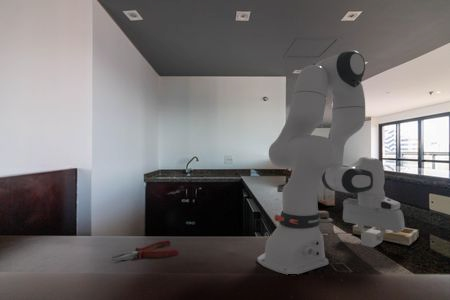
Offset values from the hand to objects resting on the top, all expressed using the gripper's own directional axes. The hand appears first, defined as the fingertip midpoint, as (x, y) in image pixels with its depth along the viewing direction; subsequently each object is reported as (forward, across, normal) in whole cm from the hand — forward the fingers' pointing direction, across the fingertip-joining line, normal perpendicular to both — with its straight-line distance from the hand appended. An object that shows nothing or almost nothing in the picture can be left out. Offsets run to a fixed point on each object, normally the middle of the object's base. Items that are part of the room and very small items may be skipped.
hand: (371, 238), depth 95 cm
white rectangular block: (+2, 0, 0) cm, 2 cm away
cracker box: (+2, -49, +61) cm, 78 cm away
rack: (+2, 0, +14) cm, 14 cm away
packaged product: (+2, -34, +16) cm, 37 cm away
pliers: (+2, -47, -66) cm, 81 cm away
